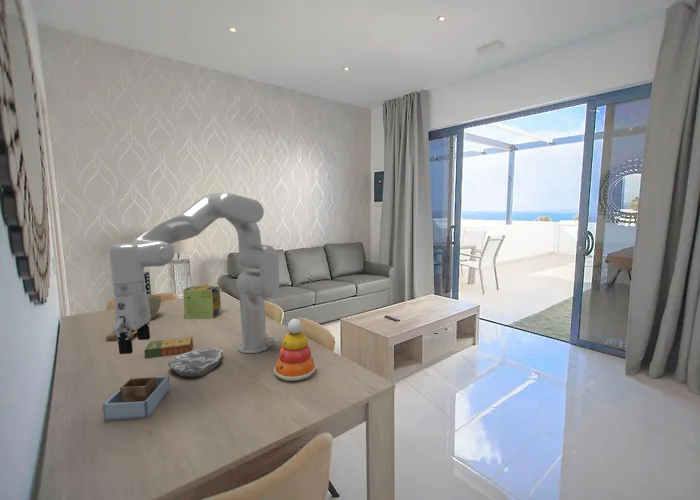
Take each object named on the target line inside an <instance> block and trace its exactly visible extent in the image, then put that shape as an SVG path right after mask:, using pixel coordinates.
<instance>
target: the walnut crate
mask: <svg viewBox="0 0 700 500" xmlns="http://www.w3.org/2000/svg"><path fill="white" fill-rule="evenodd" d="M147 377H148V378H146V377H131V378H129V379H128V380H127V381H126V382H125V383H124V384H123V385H122V386H121V387H120V388H119V390H120V392H121V403H123V402H139V401H145V400H146V399H147V398H148V397H149V396H150V395H151V394H152V393H153V392H154V390H155V389H156V378H155V377H156V376H152V377H149V376H147Z"/></svg>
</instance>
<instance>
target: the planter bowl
mask: <svg viewBox="0 0 700 500" xmlns="http://www.w3.org/2000/svg"><path fill="white" fill-rule="evenodd" d="M147 296H148V301H149V306H150V314H151V319H150V321H151V320H153V319H155V318H156V316H157V313H158V312H159V310H160V308H161V302H162V296H161V295H159V294H151V295H147Z"/></svg>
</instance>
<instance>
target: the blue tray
mask: <svg viewBox="0 0 700 500" xmlns="http://www.w3.org/2000/svg"><path fill="white" fill-rule="evenodd" d="M148 377H149V376H147V377H145V378H148ZM154 377H155V378H156V389H155V390H154V392H153V393H152V394H151V395H150V396H149V397H148V398H147V399H146V400H145V401H139V402H123V403H121V392H120V389H118V390H117V391H116V392H115V393H114V394H113V395H112V396H111V397H109V399H107V401H105V402H104V403H103V404H102V411H103V418H104V419H103V421H119V420H134V419H147V418H149V417H150V415H151V414H152V413H153V412H154V410H155V409H156V408H157V406H159V404H160V403H161V402H162V401H163V399H164V398H165V397H166V396H167V395H168V394H169V392H170V390H171V384H170V376H169V375H167V376H154Z"/></svg>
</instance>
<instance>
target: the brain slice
mask: <svg viewBox="0 0 700 500" xmlns="http://www.w3.org/2000/svg"><path fill="white" fill-rule="evenodd" d="M223 351H224V350H223V349H221V348H202V349H201V348H200V349H196V350H191V352H187V353H183V354H177V355H175V357H174V359H173V360H171V361H169V362H168V364H167V365H168V367H169V368H170V369H171V370H173V371H174V372H175V373H176V374H177V375H179V376H180V377H184V378H185V377H189V378H196V377H197V378H198V377H203V376H204V375H205V374H207V373H209V372H210V371H212V370H213V369H215V368H216V367H217V366H218V365H219V364H220V363H221V360H222V356H223Z"/></svg>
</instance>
